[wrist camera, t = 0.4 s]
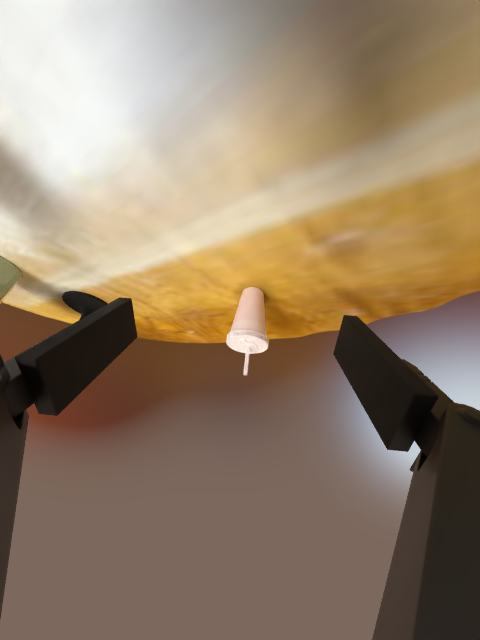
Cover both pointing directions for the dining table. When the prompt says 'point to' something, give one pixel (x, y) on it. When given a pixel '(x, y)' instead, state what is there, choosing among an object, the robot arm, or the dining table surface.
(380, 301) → the dining table surface
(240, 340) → the smoothie
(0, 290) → the tumbler
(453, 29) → the dining table surface
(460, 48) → the dining table surface
